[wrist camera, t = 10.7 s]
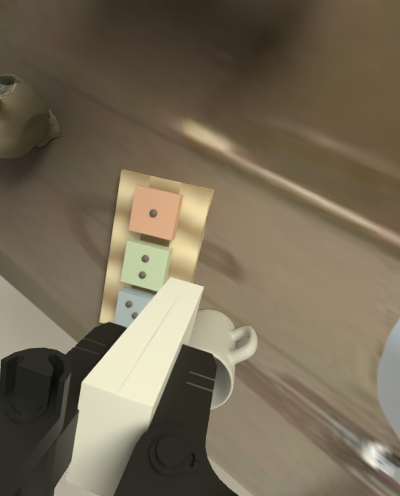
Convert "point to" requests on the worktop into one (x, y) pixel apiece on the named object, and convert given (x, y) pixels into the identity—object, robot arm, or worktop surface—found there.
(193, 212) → the board
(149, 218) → the terracotta tile
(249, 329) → the mug
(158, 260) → the sage tile
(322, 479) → the worktop surface
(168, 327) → the robot arm
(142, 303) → the blue tile
